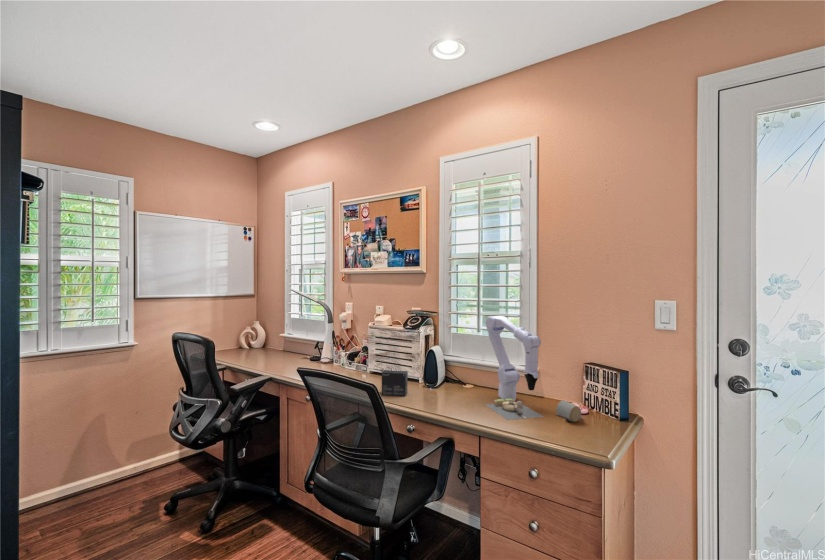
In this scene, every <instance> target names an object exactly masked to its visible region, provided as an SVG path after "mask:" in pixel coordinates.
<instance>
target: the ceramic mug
mask: <svg viewBox="0 0 825 560" xmlns="http://www.w3.org/2000/svg"><path fill="white" fill-rule="evenodd" d="M555 412H556V415H557V416H559V417H562V418H564V419H565V420H566V421H569V422H572V423H576V422H578V421H580V420H582V418H583V415H582V410H581V408H580V407H579V406H577V405H576V404H574V403H571V402H569V401H566V400H560V401H559V402H558V403H557V405H556V408H555Z"/></svg>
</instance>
